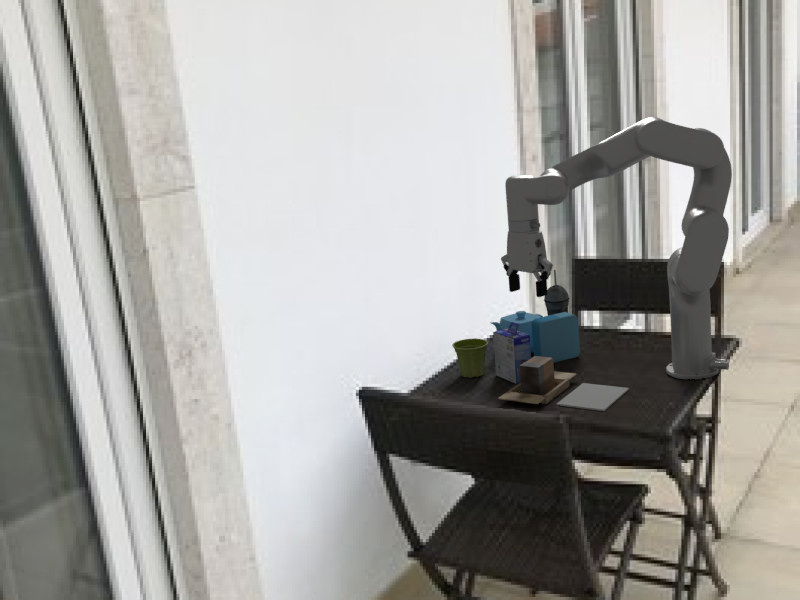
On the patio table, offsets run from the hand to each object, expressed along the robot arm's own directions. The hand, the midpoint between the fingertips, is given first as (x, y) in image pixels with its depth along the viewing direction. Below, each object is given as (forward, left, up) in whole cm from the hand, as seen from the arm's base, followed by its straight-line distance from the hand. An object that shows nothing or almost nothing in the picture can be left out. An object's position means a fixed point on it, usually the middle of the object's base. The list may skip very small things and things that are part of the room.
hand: (528, 293), depth 241 cm
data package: (+2, -18, -24) cm, 30 cm away
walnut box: (-5, +7, -23) cm, 25 cm away
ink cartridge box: (+6, -1, -24) cm, 24 cm away
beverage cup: (+10, -36, -24) cm, 44 cm away
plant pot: (+18, 0, -24) cm, 30 cm away
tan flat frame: (-5, +7, -23) cm, 25 cm away
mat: (-19, +6, -23) cm, 30 cm away
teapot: (+15, -21, -24) cm, 35 cm away
